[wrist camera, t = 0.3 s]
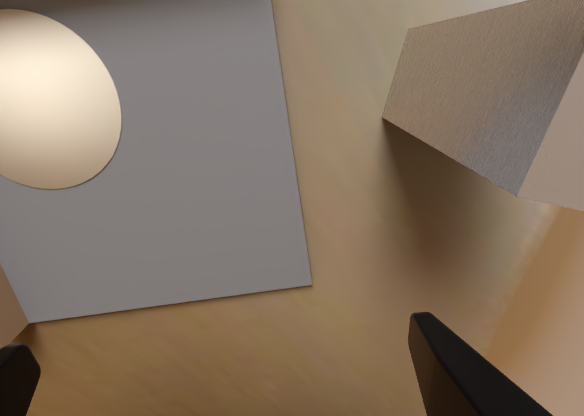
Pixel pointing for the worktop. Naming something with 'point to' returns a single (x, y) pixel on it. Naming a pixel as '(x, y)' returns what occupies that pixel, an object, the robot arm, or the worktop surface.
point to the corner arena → (142, 157)
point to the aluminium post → (501, 96)
